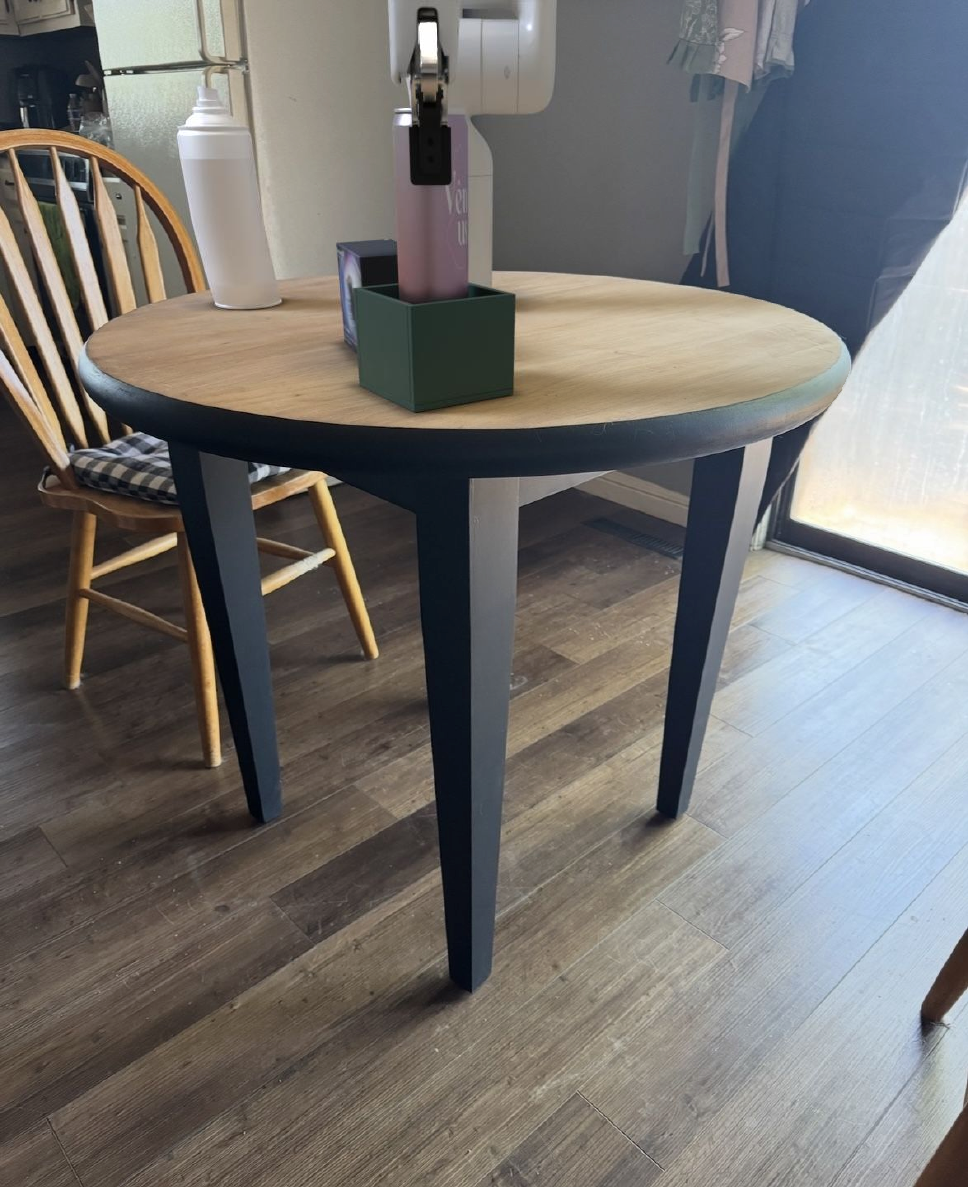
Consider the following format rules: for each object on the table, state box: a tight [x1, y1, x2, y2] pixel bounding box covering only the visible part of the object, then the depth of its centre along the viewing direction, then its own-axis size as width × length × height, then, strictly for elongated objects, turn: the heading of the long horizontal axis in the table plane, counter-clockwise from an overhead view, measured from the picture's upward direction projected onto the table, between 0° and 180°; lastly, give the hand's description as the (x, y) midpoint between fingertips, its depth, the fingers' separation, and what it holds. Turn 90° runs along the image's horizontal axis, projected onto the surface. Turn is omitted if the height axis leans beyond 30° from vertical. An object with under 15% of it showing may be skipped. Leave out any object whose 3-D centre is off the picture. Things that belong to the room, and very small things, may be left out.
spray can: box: [176, 84, 283, 310], centre depth 109 cm, size 12×11×25 cm
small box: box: [335, 238, 399, 355], centre depth 90 cm, size 11×6×10 cm, turn 21°
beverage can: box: [391, 107, 469, 304], centre depth 72 cm, size 6×6×15 cm
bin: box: [353, 283, 516, 413], centre depth 77 cm, size 10×10×9 cm
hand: (430, 180), depth 71 cm, fingers closed on beverage can, 6 cm apart
